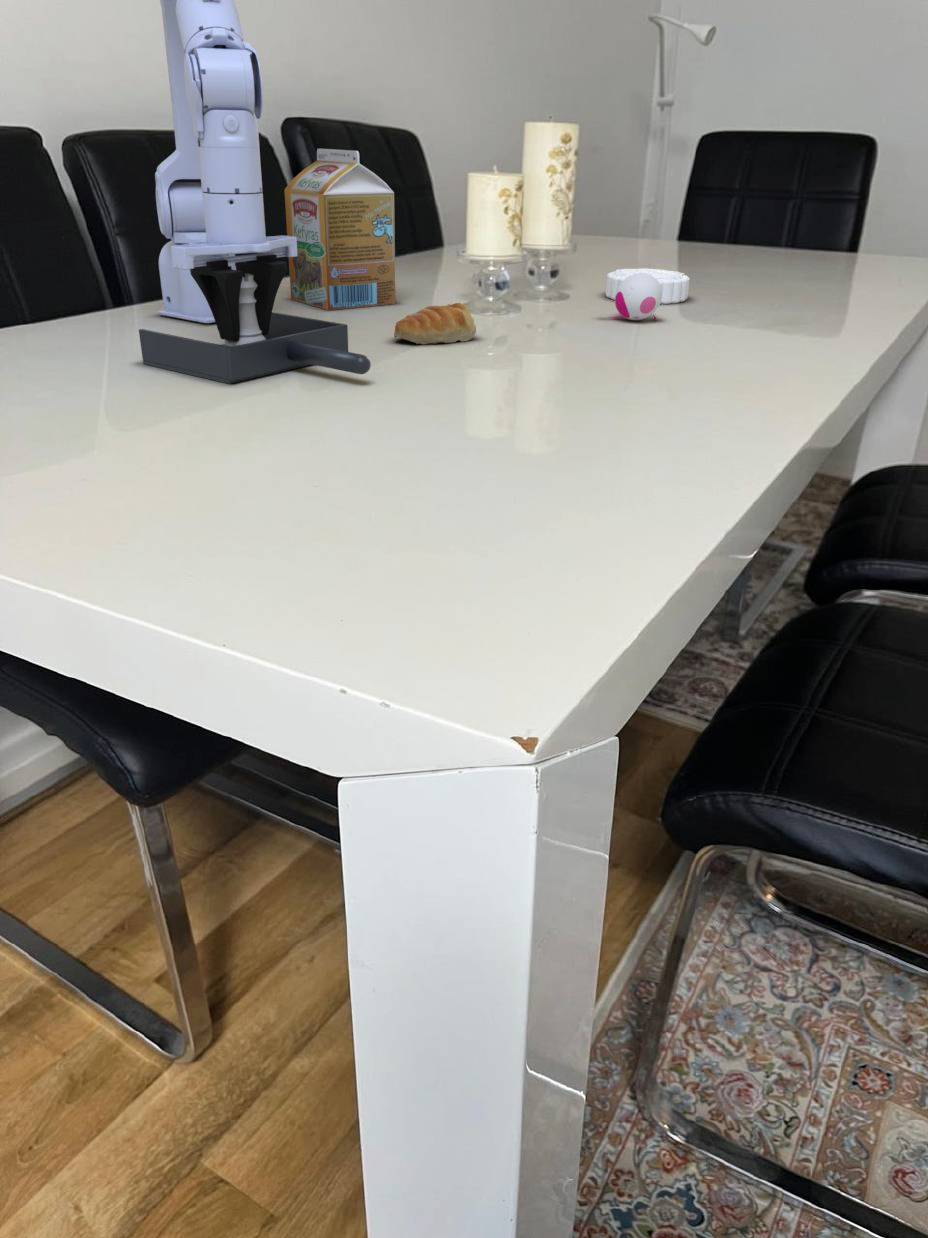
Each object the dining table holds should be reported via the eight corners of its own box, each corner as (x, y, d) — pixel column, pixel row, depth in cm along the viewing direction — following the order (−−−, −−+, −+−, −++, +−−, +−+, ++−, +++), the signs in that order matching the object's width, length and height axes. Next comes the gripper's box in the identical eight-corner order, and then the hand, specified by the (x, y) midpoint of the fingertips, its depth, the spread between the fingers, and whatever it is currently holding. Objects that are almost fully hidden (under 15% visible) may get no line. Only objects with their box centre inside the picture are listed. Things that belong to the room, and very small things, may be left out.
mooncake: (674, 291, 148) (677, 266, 146) (697, 304, 137) (700, 278, 135) (597, 290, 147) (599, 266, 145) (614, 304, 136) (617, 277, 134)
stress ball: (617, 339, 130) (592, 296, 128) (669, 305, 128) (645, 261, 126) (621, 348, 123) (595, 303, 121) (677, 313, 121) (651, 266, 119)
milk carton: (291, 299, 135) (282, 148, 126) (356, 293, 140) (351, 148, 132) (328, 310, 127) (321, 150, 119) (395, 303, 133) (393, 150, 124)
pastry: (415, 348, 106) (415, 313, 105) (381, 339, 111) (380, 304, 109) (481, 339, 112) (481, 305, 110) (445, 330, 116) (445, 297, 115)
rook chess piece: (227, 351, 101) (220, 271, 98) (270, 351, 102) (265, 272, 98) (222, 360, 98) (214, 278, 94) (266, 360, 98) (260, 278, 94)
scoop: (142, 363, 98) (138, 329, 96) (260, 340, 109) (258, 309, 108) (308, 402, 85) (306, 363, 84) (421, 371, 97) (421, 336, 95)
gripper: (200, 197, 85) (215, 353, 92) (315, 191, 96) (322, 331, 102) (150, 193, 89) (167, 343, 95) (266, 188, 99) (275, 323, 106)
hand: (244, 336), depth 99 cm, fingers closed on rook chess piece, 3 cm apart
